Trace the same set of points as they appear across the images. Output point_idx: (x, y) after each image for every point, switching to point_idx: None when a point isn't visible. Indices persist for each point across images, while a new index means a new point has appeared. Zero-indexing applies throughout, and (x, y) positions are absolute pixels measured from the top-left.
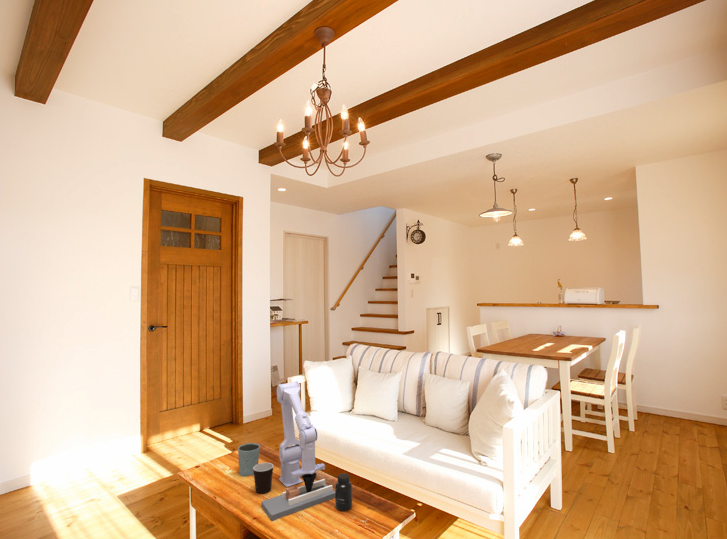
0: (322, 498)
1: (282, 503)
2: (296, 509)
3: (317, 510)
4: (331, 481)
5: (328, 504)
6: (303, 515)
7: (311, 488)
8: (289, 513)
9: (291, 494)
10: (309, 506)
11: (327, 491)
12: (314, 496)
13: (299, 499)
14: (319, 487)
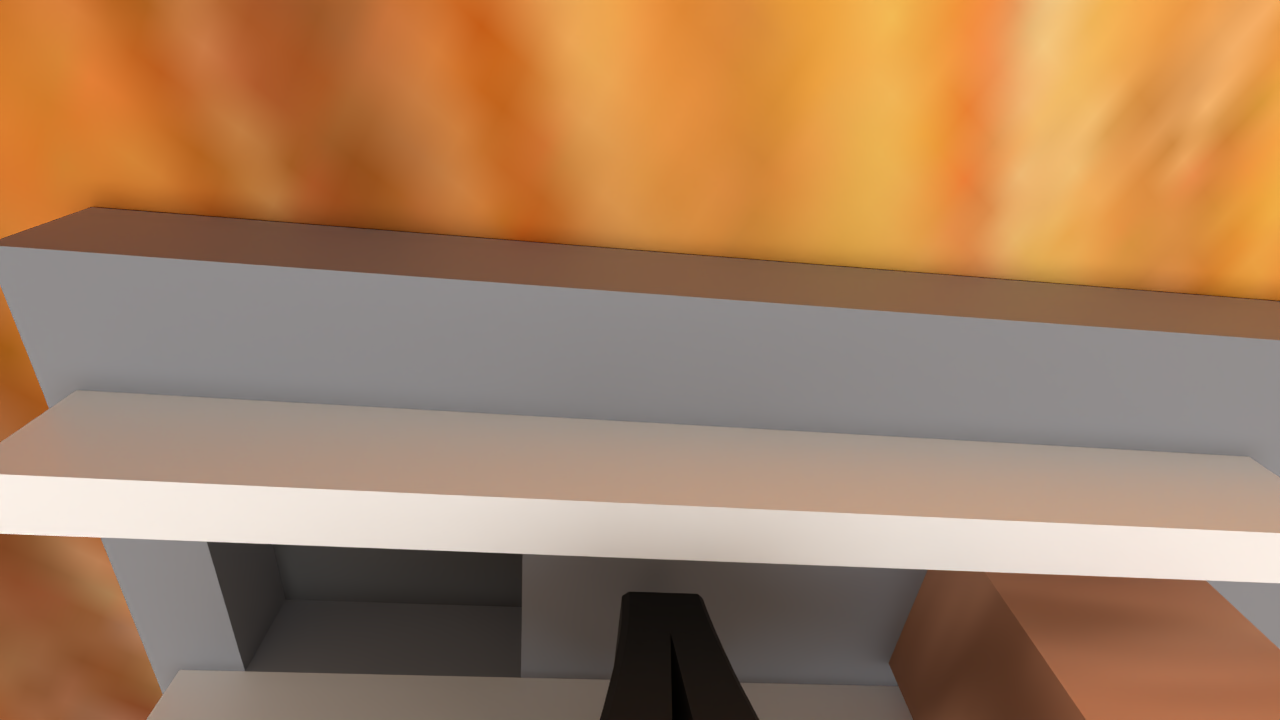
0: (475, 268)
1: (1233, 587)
2: (1156, 306)
3: (779, 7)
4: (42, 706)
5: (402, 57)
6: (1144, 60)
7: (631, 651)
8: (1276, 308)
9: (1267, 675)
10: (829, 270)
11: (229, 411)
12: (631, 426)
13: (1054, 482)
14: (336, 652)
